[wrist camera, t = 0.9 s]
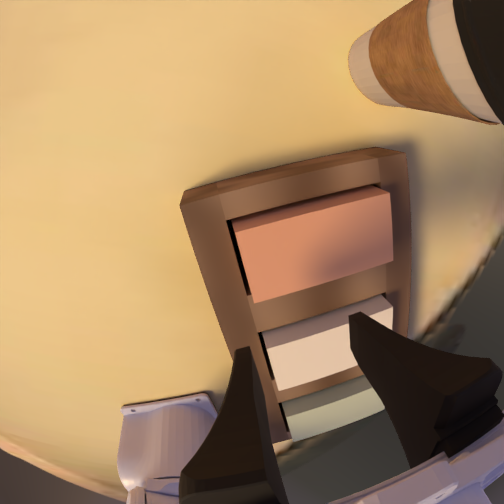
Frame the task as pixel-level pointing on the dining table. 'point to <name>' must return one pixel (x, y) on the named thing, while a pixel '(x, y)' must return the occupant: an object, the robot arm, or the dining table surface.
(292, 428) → the sage button
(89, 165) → the dining table surface
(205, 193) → the button board
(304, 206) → the terracotta button
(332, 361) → the cream button
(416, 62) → the coffee cup
